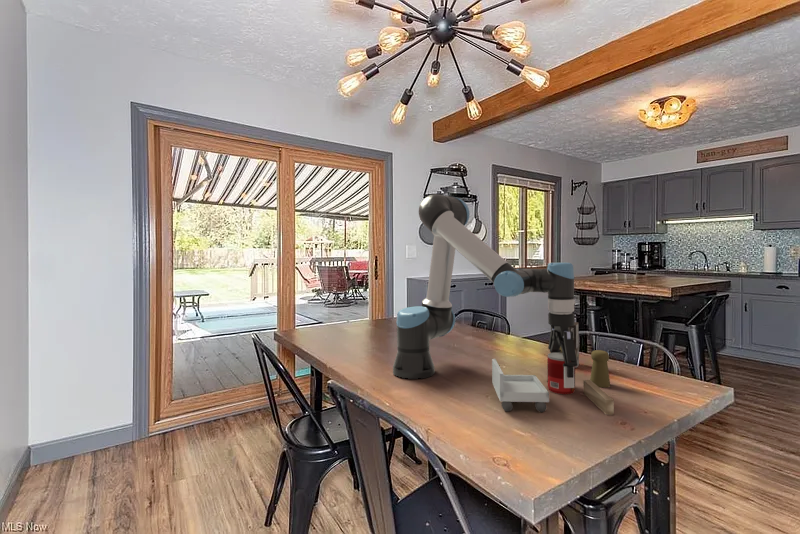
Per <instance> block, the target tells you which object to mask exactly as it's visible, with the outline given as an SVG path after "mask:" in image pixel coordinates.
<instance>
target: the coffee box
mask: <svg viewBox="0 0 800 534" xmlns="http://www.w3.org/2000/svg"><path fill="white" fill-rule="evenodd" d="M579 325H580V323H579V322H577V321H575V324H574V325H573V326H569V327H568V329H569V332H573V341H574V347H575V353H576V359H577V366H575V369H577V368H578V367H579V365H580V346H579V345H580V336H579V333H580V332H579V328H580V327H579ZM560 351H561V353H562V349H561V346H560Z"/></svg>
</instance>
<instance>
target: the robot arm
mask: <svg viewBox="0 0 800 534" xmlns="http://www.w3.org/2000/svg"><path fill="white" fill-rule="evenodd" d="M418 217H419V218H420V221H421V223H422V224H423V225H424V226H425V228H427V229H428V230H429V231H430V232H431V233H432V235H433V241H432V249H431V250H432V251H431V258H430V265H429V267H430V268H429V275H428V282H427V283H428V284H427V292H426V297H425V298H423V300H422V301H421V306H419V305H418V306H417V305H416V306H411V307H410V306H408V307H405V308H402V309H400V310H399V311H398V312H397V315H396V321H395V322H396V342H397V343H396V347H397V348H396V349H397V352H396V355H395V359H394V362H393V364H392V374H393V375H394V376H395V375H396V376H395V377H397V376H399V377H398V378H400V377H402V378H401V379H405V378H408V379H407V380H419V379H418V378H421V379H427V378H430V377H431V376H433V375H434V374H435V371H436V370H435V364H434V362H433V361H434V360H433V358H432V355H431V353H430V340H434V339H436V338H441V337H444V336H446V335H448V334H449V333H450V332H451V331H452V330H453V329H454V326H455V324H456V315H455V312H454V310H453V304H452V302H450V293H451V292H450V291H451V286H452V285H451V284H452V277H453V270H454V264H455V263H454V262H455V255H456V251H457V252H458V253H460V255H462V256H463V257H464V258H465V259H466V260H468V262H469V263H471V264H472V265H473V266H474V267H475V268H476V269H477V270H479V272H481V273H482V274H483V275H484V276H486V277H487V279H489V280H490V281H491V282H492V283H493V285H494V288H495V292H496V293H497V294H498V295H500V296H502V297H506V298H510V297H512V298H514V297H516V296H519V295H523V294H527V293H547V294H548V295H547V310H548V311H549V312H548V314H547V315H548V318H547V320H548V321H547V322H548V325H550V334H549V340H548V347H547V348H548V350H549V352H550V353H561V351H560V346H561V349H562V353H563V357H564V362H565V363H564V364H563V366H564V387H565V388H574V366H577V359H576V353H575V347H574V341H573V332H569V329H568V327H569V326H573V325H574V324H575V322H576V321H575V313H574V312H575V305H576V301H575V272H574V270H575V269H574V265H573V263H571V262H564V261H562V262H548V264H547V268H525V267H524V268H515V267H514V266H512V264H510V263H509V262H508V261H507V260H506V259H504V257H502V256H501V255H500V254H498V253H497V252H496V251H495V250H494V249H492V248H491V247H490V246H489V245H488V244H486V242H484V241H483V240H482V239H480V237H478V236H477V235H476V234H475V233H473V232H472V231H471V230H470V229H468V227H466V225H467V224H468V222H469V219H470V209H469V207H468V204H467V203H466V202H465V201H464V200H463V199H461V198H458V197H456V196H453V195H452V196H448V195H444V194H438V193H437V194H435V193H434V194H430V195H427V196H426V197H425V198H424V199H422V201H421V202H420V204H419V206H418ZM570 361H571V362H570Z"/></svg>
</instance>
